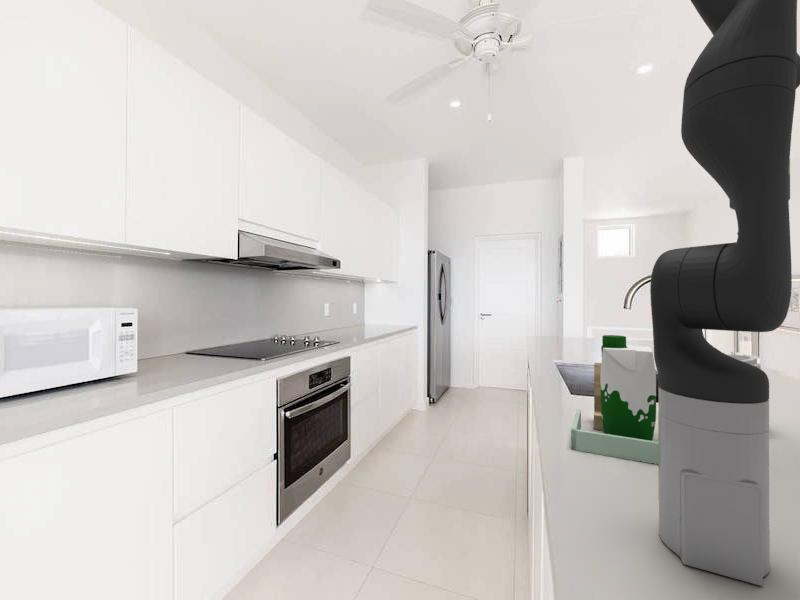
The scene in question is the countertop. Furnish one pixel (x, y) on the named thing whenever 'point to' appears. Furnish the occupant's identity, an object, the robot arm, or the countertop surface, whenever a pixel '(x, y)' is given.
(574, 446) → the tray
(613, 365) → the soya milk
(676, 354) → the robot arm
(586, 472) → the countertop surface
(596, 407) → the brown box
